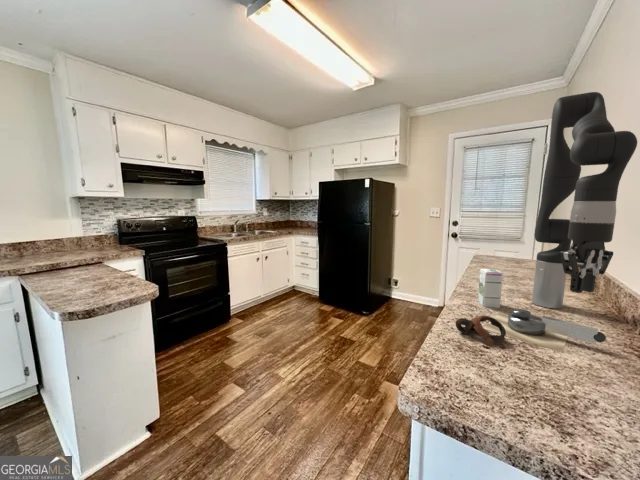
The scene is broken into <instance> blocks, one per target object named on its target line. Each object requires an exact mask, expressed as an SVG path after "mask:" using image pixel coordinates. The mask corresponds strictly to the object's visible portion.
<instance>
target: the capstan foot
mask: <svg viewBox="0 0 640 480" xmlns="http://www.w3.org/2000/svg"><path fill="white" fill-rule="evenodd" d="M508 315H509V316H508V326H509V327H510V328H511V329H513V330H515V331H518V332H521V333H524V334H528V335H535V336H541V335H545V334H546V331H548V332H552V333H556V334H560V335H563V336H567V337H568V338H571V339H575V340H579V341H583V342H586V343H589V344H590V343H591V344H594V345H596V344H597V343H604V342H606V340H607V336H606V335H605V333H603V332H602V331H599V328H598V327H597V328H596V327H593V326H588V325H584V324H581V323H580V324H579V323H575V322H572V321H568V320H563V319H559V318H555V317H551V316H546V315H543V316H542V318H541V317H539V316H536V315H534V314H531V311H528V310H526V309H523V308H513V309H512V312H511V313H508Z"/></svg>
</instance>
